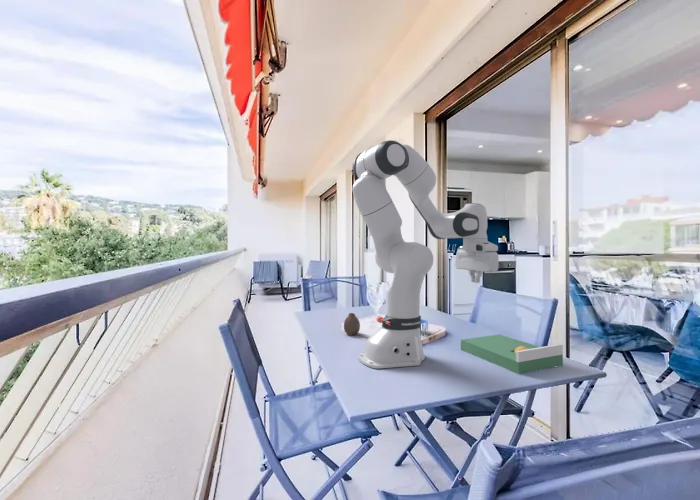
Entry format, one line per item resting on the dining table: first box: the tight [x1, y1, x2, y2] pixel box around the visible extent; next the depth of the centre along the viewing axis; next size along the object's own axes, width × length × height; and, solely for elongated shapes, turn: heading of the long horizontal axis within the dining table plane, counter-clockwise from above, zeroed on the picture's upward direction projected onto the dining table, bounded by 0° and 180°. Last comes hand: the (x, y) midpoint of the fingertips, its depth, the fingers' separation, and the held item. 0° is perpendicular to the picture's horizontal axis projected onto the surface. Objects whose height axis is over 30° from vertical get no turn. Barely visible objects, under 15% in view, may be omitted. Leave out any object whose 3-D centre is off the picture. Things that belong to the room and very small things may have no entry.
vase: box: [343, 312, 361, 336], centre depth 152 cm, size 7×7×9 cm
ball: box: [514, 346, 528, 353], centre depth 113 cm, size 5×5×5 cm
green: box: [460, 334, 564, 375], centre depth 120 cm, size 18×26×6 cm
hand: (475, 282), depth 137 cm, fingers closed
